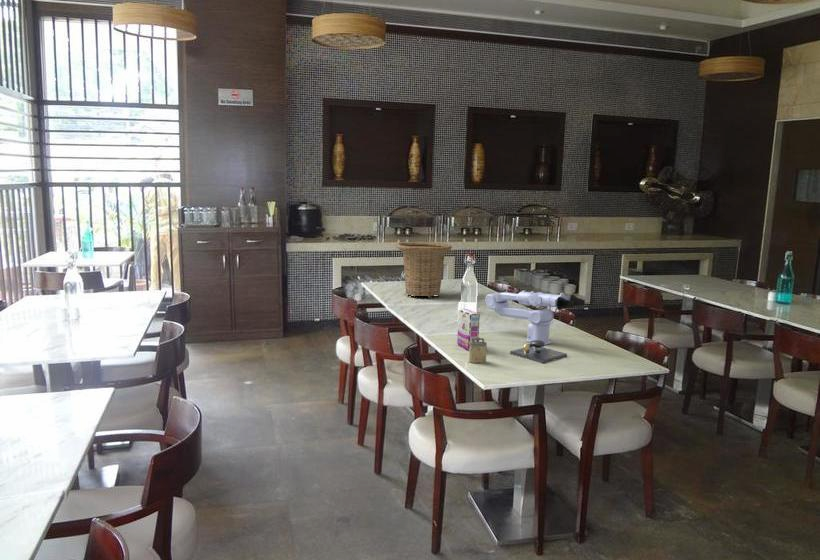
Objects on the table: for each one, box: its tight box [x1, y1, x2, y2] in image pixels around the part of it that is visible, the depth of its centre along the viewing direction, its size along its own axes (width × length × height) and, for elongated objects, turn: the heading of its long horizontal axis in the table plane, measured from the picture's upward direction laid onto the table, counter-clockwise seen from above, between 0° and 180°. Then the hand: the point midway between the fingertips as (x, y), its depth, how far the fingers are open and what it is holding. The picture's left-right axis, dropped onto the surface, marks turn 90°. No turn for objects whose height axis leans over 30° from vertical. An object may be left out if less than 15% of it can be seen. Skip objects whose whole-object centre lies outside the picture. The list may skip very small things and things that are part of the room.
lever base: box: [509, 346, 568, 364], centre depth 264 cm, size 17×17×4 cm
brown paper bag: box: [468, 337, 488, 364], centre depth 251 cm, size 7×4×10 cm, turn 98°
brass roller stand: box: [523, 340, 546, 353], centre depth 264 cm, size 12×6×4 cm, turn 131°
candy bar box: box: [456, 308, 481, 352], centre depth 272 cm, size 11×5×16 cm, turn 23°
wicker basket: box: [396, 241, 453, 297], centre depth 394 cm, size 35×35×33 cm
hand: (579, 303), depth 268 cm, fingers open, 7 cm apart
